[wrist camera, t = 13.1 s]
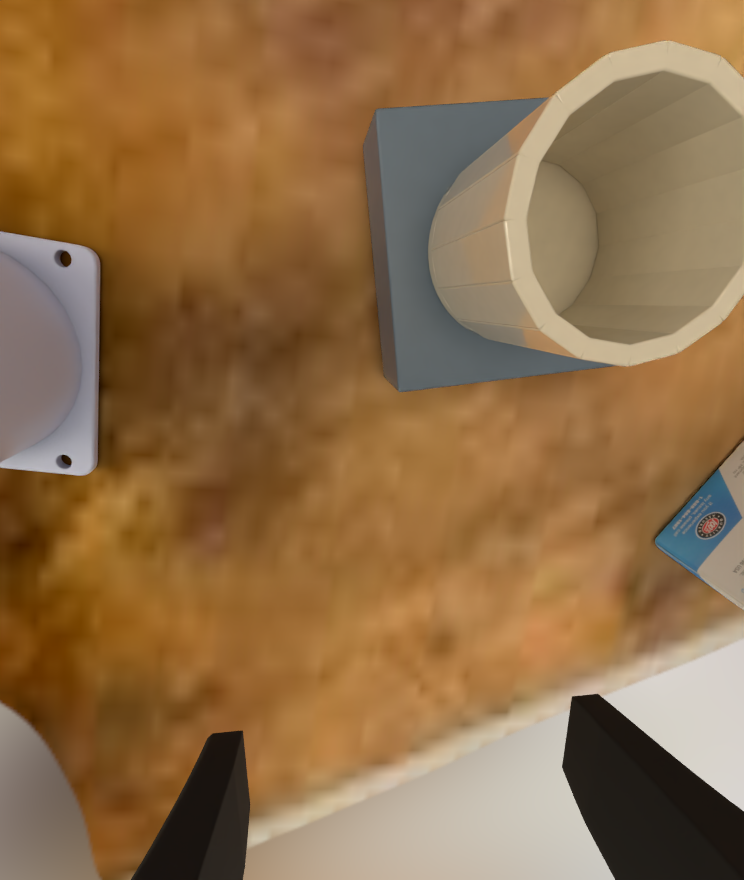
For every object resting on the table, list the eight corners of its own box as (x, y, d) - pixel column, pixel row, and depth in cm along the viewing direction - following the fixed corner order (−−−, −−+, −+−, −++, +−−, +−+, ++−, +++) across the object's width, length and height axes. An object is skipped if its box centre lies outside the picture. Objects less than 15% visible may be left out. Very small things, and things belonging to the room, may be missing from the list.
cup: (412, 326, 15) (476, 342, 9) (448, 129, 13) (549, 2, 8) (572, 353, 16) (721, 382, 10) (621, 170, 14) (827, 85, 9)
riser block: (383, 378, 18) (398, 393, 15) (362, 144, 16) (374, 107, 13) (579, 354, 19) (630, 364, 16) (585, 127, 17) (646, 89, 14)
